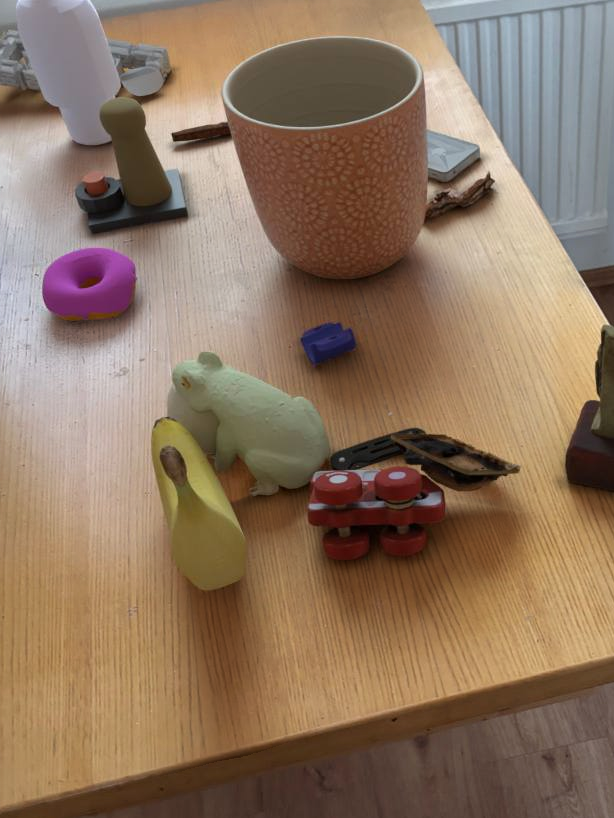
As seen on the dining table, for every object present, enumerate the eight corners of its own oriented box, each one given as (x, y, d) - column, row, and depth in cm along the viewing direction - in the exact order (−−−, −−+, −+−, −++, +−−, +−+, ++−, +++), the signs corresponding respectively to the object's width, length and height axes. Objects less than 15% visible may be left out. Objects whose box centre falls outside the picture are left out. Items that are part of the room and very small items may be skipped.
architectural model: (175, 47, 138) (181, 82, 142) (6, 22, 137) (18, 58, 141) (154, 90, 132) (161, 125, 136) (-22, 64, 131) (-9, 100, 136)
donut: (40, 329, 103) (22, 292, 100) (68, 275, 109) (52, 239, 106) (130, 328, 103) (115, 292, 99) (153, 275, 109) (140, 239, 105)
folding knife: (421, 422, 90) (432, 441, 88) (422, 431, 91) (433, 451, 90) (326, 451, 88) (335, 472, 87) (328, 461, 89) (337, 482, 88)
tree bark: (504, 189, 116) (499, 168, 115) (430, 227, 112) (425, 206, 110) (476, 186, 120) (471, 166, 119) (403, 223, 116) (398, 202, 114)
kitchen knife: (315, 96, 132) (323, 107, 129) (317, 109, 133) (325, 120, 130) (166, 121, 128) (171, 133, 125) (170, 134, 129) (174, 146, 126)
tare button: (88, 198, 114) (82, 184, 113) (87, 187, 116) (81, 173, 114) (109, 194, 115) (104, 180, 113) (108, 183, 116) (103, 170, 115)
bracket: (314, 348, 92) (324, 373, 94) (357, 330, 93) (366, 355, 94) (295, 335, 100) (304, 358, 101) (334, 319, 101) (343, 342, 102)
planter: (239, 234, 113) (194, 65, 97) (394, 187, 118) (374, 19, 102) (300, 324, 102) (260, 150, 86) (467, 268, 107) (458, 94, 91)
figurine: (213, 399, 95) (183, 315, 87) (350, 442, 91) (332, 357, 82) (154, 463, 90) (116, 381, 82) (296, 511, 85) (271, 429, 77)
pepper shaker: (167, 176, 119) (139, 86, 110) (176, 199, 116) (147, 107, 107) (121, 187, 118) (88, 96, 109) (128, 210, 115) (95, 119, 106)
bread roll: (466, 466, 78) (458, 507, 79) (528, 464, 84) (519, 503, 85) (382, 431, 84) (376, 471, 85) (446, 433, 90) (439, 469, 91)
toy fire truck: (442, 483, 76) (441, 432, 85) (292, 492, 76) (306, 441, 85) (448, 555, 80) (446, 500, 89) (306, 564, 80) (318, 508, 89)
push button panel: (85, 235, 114) (76, 212, 112) (82, 195, 120) (73, 172, 117) (188, 216, 116) (181, 192, 114) (180, 177, 122) (173, 154, 119)
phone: (349, 143, 123) (350, 152, 124) (445, 173, 117) (446, 183, 118) (386, 117, 126) (388, 126, 127) (482, 145, 121) (483, 155, 122)
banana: (184, 557, 89) (130, 424, 84) (242, 537, 90) (192, 405, 85) (196, 639, 65) (122, 461, 60) (275, 611, 67) (209, 434, 61)
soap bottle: (114, 155, 125) (38, -57, 106) (47, 148, 127) (-40, -62, 107) (148, 119, 131) (82, -89, 111) (84, 113, 133) (8, -93, 113)
